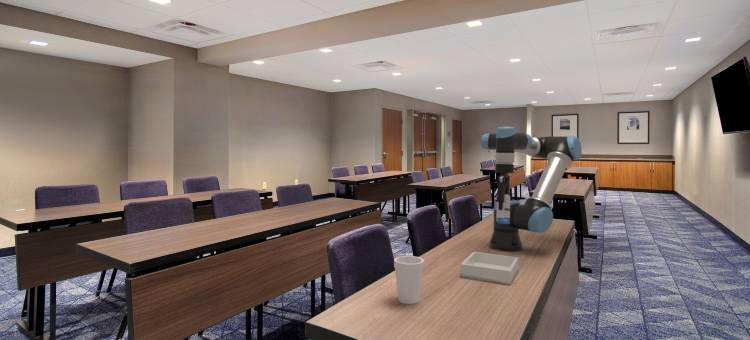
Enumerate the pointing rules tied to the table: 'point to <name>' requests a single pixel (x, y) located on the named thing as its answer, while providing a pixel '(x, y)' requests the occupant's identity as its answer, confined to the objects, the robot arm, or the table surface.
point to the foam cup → (408, 278)
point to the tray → (490, 268)
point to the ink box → (505, 211)
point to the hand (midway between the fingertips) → (502, 216)
